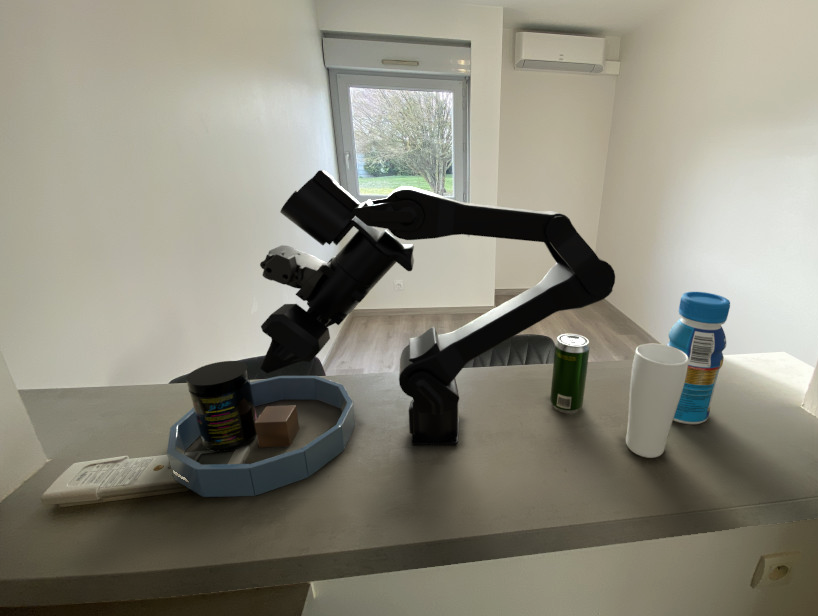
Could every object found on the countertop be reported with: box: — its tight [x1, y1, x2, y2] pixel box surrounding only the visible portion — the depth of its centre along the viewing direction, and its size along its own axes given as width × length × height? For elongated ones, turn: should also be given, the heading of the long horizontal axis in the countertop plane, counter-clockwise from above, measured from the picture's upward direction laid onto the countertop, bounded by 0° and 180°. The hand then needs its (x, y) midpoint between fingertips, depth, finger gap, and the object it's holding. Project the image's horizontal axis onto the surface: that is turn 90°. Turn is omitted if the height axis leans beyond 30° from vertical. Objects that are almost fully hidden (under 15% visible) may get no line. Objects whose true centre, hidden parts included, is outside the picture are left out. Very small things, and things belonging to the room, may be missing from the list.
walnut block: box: [255, 404, 300, 448], centre depth 57 cm, size 4×4×4 cm
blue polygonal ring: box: [166, 375, 356, 498], centre depth 57 cm, size 22×22×4 cm
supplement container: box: [186, 360, 258, 453], centre depth 55 cm, size 7×7×10 cm
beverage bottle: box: [666, 291, 731, 425], centre depth 64 cm, size 8×8×20 cm
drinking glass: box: [625, 342, 689, 459], centre depth 56 cm, size 7×7×15 cm
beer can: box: [549, 333, 590, 414], centre depth 66 cm, size 5×5×12 cm
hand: (281, 353), depth 53 cm, fingers open, 9 cm apart
